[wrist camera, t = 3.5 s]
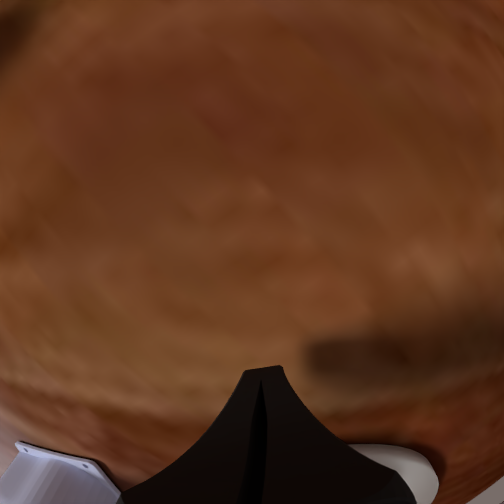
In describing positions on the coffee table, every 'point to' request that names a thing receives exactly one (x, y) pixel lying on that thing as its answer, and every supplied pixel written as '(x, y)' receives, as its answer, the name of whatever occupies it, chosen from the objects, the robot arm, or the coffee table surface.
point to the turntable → (405, 468)
